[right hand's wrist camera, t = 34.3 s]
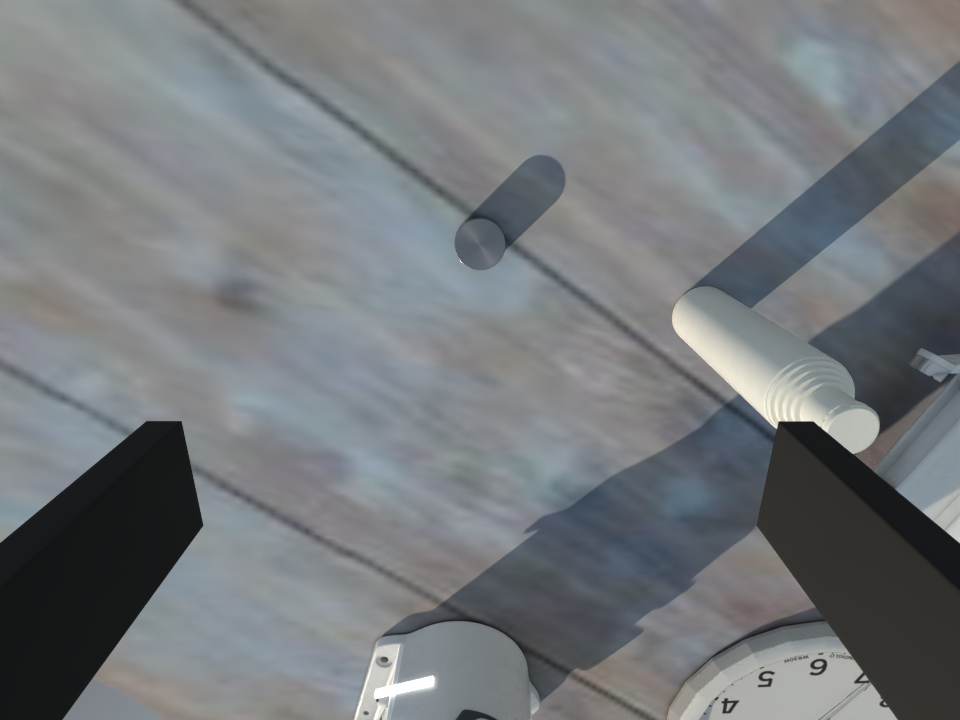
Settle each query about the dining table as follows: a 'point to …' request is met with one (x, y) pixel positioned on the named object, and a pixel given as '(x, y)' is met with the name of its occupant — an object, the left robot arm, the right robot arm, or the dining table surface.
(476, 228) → the cap
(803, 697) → the wall clock
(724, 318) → the bottle
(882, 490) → the right robot arm
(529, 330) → the dining table surface
